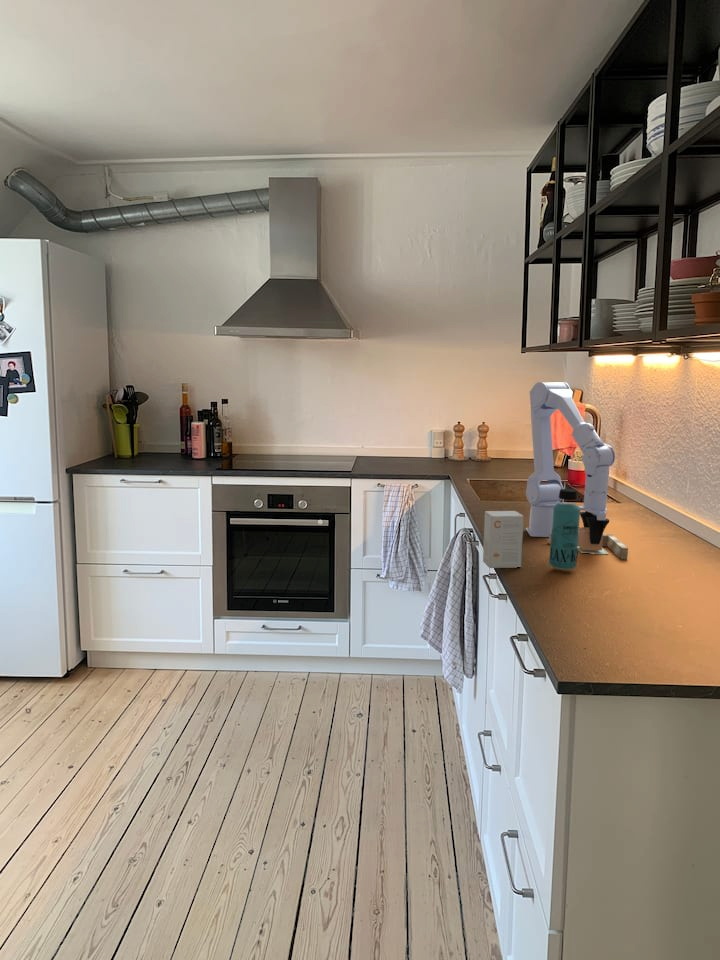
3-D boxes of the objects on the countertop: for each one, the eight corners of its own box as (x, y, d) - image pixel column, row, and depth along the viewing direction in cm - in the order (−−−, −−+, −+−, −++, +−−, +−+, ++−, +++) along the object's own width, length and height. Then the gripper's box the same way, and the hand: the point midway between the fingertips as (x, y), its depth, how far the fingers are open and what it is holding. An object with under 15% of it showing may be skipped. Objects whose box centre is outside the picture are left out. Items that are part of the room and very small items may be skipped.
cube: (577, 545, 195) (579, 527, 194) (596, 545, 195) (597, 527, 194) (582, 549, 190) (583, 531, 189) (601, 550, 190) (603, 531, 189)
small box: (513, 561, 181) (516, 510, 179) (521, 568, 175) (524, 515, 173) (481, 561, 180) (484, 510, 178) (488, 568, 174) (491, 515, 172)
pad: (575, 546, 196) (575, 546, 196) (601, 547, 196) (601, 547, 196) (581, 553, 189) (581, 552, 189) (608, 554, 189) (608, 553, 189)
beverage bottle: (542, 569, 174) (547, 487, 171) (564, 566, 177) (570, 486, 174) (560, 576, 168) (565, 492, 165) (582, 573, 171) (588, 491, 168)
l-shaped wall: (548, 542, 200) (549, 532, 200) (611, 545, 199) (611, 534, 198) (559, 557, 185) (560, 545, 185) (627, 559, 184) (628, 548, 184)
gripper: (574, 486, 197) (570, 534, 199) (587, 495, 183) (583, 547, 185) (600, 486, 197) (596, 535, 199) (615, 496, 183) (611, 548, 185)
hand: (592, 541), depth 192 cm, fingers closed on cube, 5 cm apart
